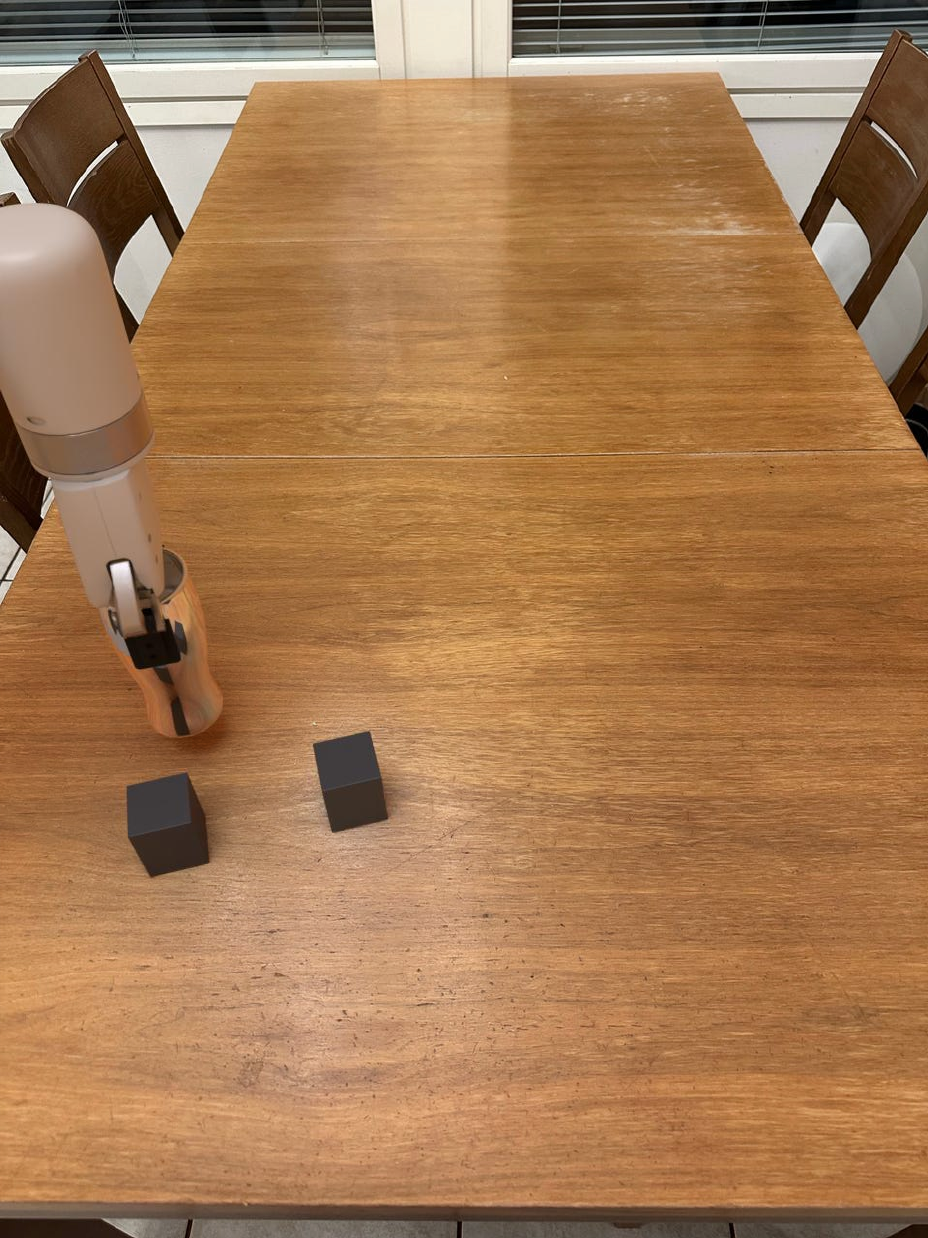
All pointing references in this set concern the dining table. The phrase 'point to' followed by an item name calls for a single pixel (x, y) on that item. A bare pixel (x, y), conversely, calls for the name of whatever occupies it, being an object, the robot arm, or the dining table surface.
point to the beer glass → (179, 690)
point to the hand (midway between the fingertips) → (156, 623)
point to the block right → (350, 781)
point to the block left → (167, 824)
